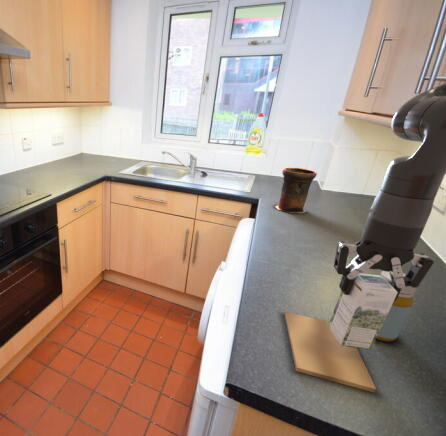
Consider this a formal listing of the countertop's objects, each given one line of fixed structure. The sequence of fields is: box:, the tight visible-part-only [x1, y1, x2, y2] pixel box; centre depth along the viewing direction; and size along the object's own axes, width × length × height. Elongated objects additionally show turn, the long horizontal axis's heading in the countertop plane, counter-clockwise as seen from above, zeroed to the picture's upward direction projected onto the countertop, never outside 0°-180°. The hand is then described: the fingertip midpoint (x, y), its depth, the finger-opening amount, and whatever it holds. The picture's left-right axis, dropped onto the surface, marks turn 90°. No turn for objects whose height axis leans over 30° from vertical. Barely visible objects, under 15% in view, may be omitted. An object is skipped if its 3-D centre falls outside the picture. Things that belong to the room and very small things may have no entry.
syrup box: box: [328, 273, 398, 351], centre depth 59 cm, size 6×6×14 cm
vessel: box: [275, 167, 318, 214], centre depth 147 cm, size 14×14×20 cm
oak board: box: [284, 311, 377, 394], centre depth 65 cm, size 13×18×1 cm
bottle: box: [376, 270, 418, 342], centre depth 67 cm, size 7×7×15 cm
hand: (365, 296), depth 58 cm, fingers closed on syrup box, 6 cm apart
